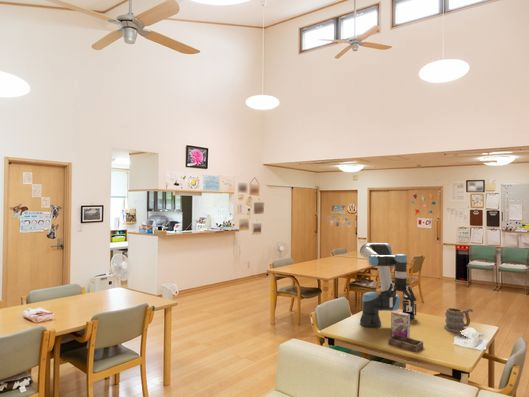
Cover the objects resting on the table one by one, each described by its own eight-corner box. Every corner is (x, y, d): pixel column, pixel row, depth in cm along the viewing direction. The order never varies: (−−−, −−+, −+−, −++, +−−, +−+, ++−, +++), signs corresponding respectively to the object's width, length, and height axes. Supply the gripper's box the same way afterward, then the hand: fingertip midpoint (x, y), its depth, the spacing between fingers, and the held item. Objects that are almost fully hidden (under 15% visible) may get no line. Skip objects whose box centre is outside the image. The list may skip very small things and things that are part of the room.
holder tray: (388, 343, 244) (388, 338, 244) (395, 339, 251) (395, 334, 251) (416, 351, 231) (416, 346, 231) (423, 347, 238) (423, 341, 238)
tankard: (450, 332, 266) (450, 311, 266) (441, 326, 279) (441, 306, 279) (478, 332, 267) (478, 311, 267) (468, 326, 279) (468, 306, 280)
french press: (398, 316, 302) (399, 287, 303) (405, 314, 308) (405, 286, 308) (412, 320, 293) (412, 290, 293) (419, 318, 299) (419, 288, 299)
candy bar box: (390, 336, 257) (390, 312, 257) (393, 334, 261) (393, 310, 261) (407, 340, 250) (407, 315, 250) (410, 338, 254) (410, 313, 254)
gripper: (380, 275, 262) (380, 306, 262) (416, 280, 244) (416, 314, 244) (386, 274, 267) (386, 304, 267) (421, 279, 250) (421, 311, 249)
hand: (400, 309), depth 255 cm, fingers open, 13 cm apart
